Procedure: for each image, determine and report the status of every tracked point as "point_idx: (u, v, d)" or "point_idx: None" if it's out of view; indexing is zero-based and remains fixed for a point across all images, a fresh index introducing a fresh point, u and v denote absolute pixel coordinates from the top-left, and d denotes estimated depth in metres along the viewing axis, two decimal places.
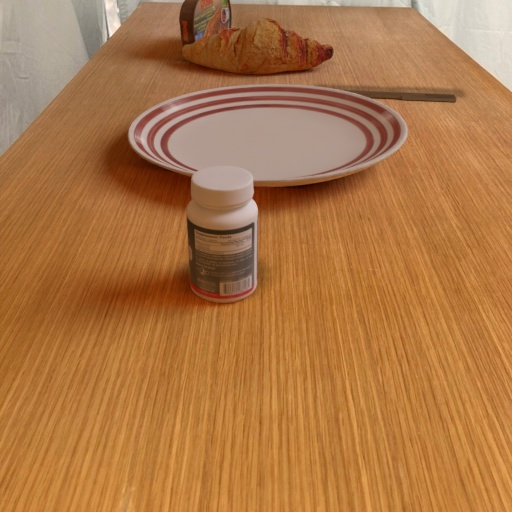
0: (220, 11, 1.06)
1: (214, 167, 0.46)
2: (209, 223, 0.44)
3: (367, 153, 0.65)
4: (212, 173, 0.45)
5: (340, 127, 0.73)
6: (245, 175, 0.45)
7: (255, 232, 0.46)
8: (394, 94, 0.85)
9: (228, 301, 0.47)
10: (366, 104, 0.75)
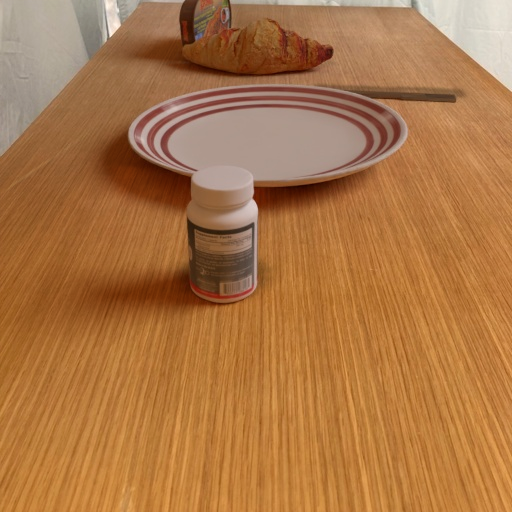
0: (220, 11, 1.06)
1: (214, 167, 0.46)
2: (209, 223, 0.44)
3: (367, 153, 0.65)
4: (212, 173, 0.45)
5: (340, 127, 0.73)
6: (245, 175, 0.45)
7: (255, 232, 0.46)
8: (394, 94, 0.85)
9: (228, 301, 0.47)
10: (366, 104, 0.75)
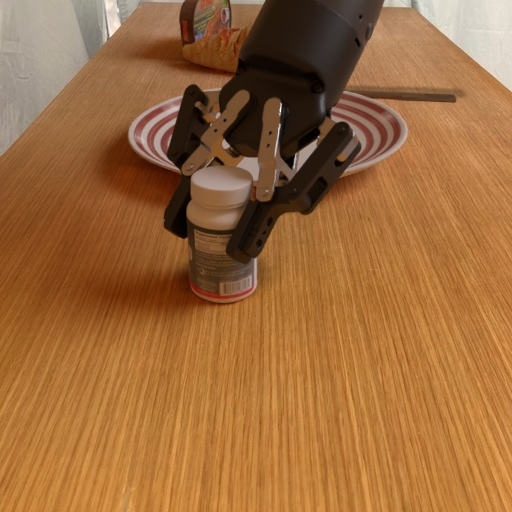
0: (220, 11, 1.06)
1: (214, 167, 0.46)
2: (209, 223, 0.44)
3: (367, 153, 0.65)
4: (212, 173, 0.45)
5: None
6: (245, 175, 0.45)
7: None
8: (394, 94, 0.85)
9: (228, 301, 0.47)
10: (366, 104, 0.75)
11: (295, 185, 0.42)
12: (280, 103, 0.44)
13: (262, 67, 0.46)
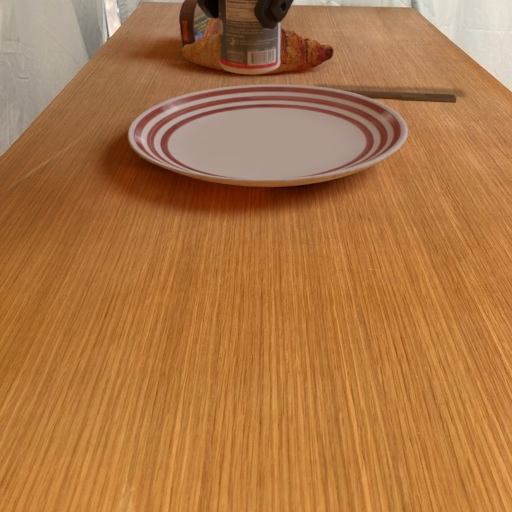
0: None
1: None
2: None
3: (367, 153, 0.65)
4: None
5: (340, 127, 0.73)
6: None
7: None
8: (394, 94, 0.85)
9: (255, 72, 0.52)
10: (366, 104, 0.75)
11: None
12: None
13: None
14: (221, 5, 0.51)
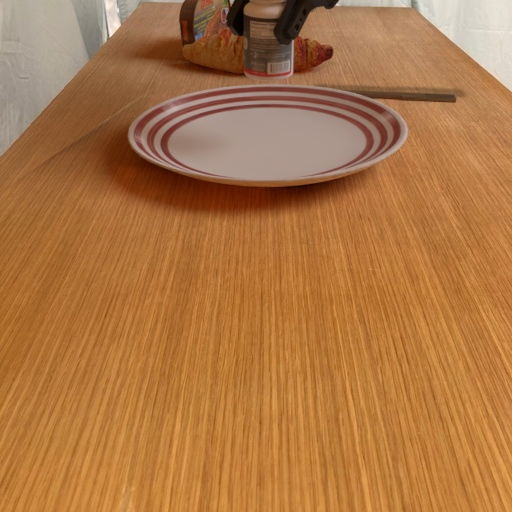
0: (220, 11, 1.06)
1: None
2: (261, 13, 0.61)
3: (367, 153, 0.65)
4: None
5: (340, 127, 0.73)
6: None
7: None
8: (394, 94, 0.85)
9: (273, 79, 0.64)
10: (366, 104, 0.75)
11: None
12: None
13: None
14: (246, 26, 0.63)
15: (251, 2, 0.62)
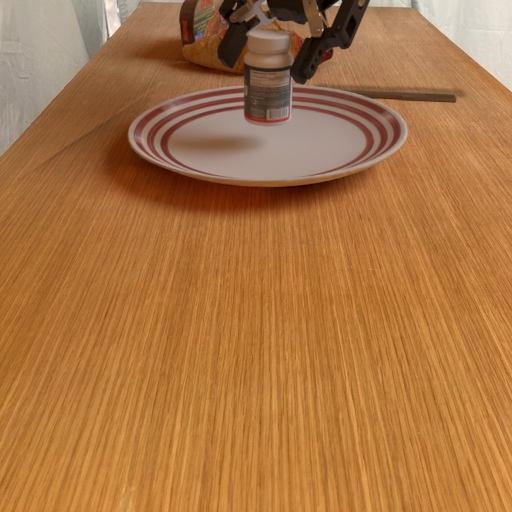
0: None
1: (263, 29, 0.66)
2: (261, 63, 0.64)
3: (367, 153, 0.65)
4: (262, 32, 0.65)
5: (340, 127, 0.73)
6: (285, 32, 0.65)
7: None
8: (394, 94, 0.85)
9: (272, 125, 0.67)
10: (366, 104, 0.75)
11: (337, 23, 0.61)
12: None
13: None
14: (246, 74, 0.65)
15: (251, 52, 0.65)
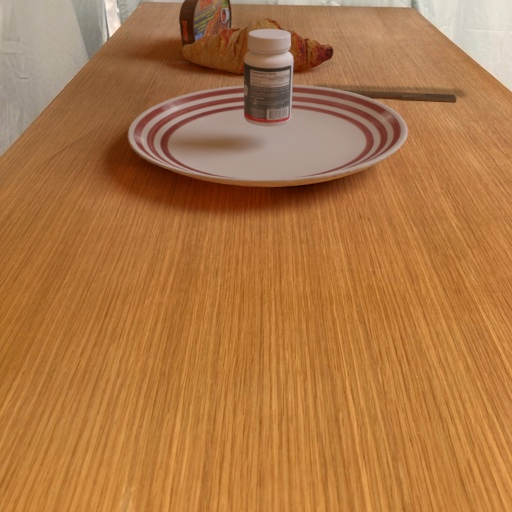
0: (220, 11, 1.06)
1: (263, 29, 0.66)
2: (261, 63, 0.64)
3: (367, 153, 0.65)
4: (262, 32, 0.65)
5: (340, 127, 0.73)
6: (285, 32, 0.65)
7: (291, 74, 0.66)
8: (394, 94, 0.85)
9: (272, 125, 0.67)
10: (366, 104, 0.75)
11: None
12: None
13: None
14: (246, 74, 0.65)
15: (251, 52, 0.65)
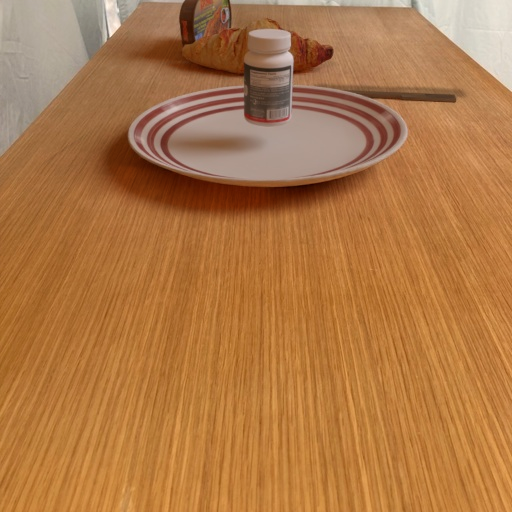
0: (220, 11, 1.06)
1: (263, 29, 0.66)
2: (261, 63, 0.64)
3: (367, 153, 0.65)
4: (262, 32, 0.65)
5: (340, 127, 0.73)
6: (285, 32, 0.65)
7: (291, 74, 0.66)
8: (394, 94, 0.85)
9: (272, 125, 0.67)
10: (366, 104, 0.75)
11: None
12: None
13: None
14: (246, 74, 0.65)
15: (251, 52, 0.65)
